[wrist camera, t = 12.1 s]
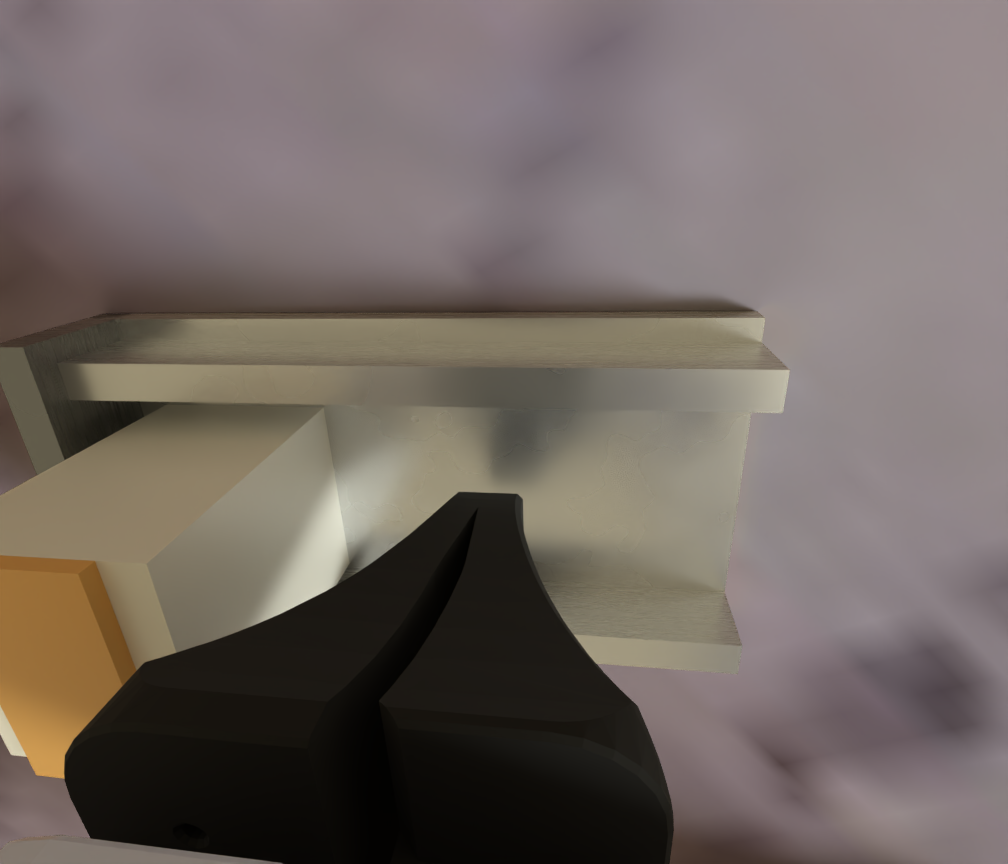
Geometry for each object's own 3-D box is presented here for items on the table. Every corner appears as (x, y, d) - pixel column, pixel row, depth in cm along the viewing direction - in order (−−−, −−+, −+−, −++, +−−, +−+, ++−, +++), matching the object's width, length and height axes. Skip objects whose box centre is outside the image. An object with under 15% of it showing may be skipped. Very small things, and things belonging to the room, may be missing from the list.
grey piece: (757, 311, 12) (807, 351, 9) (713, 617, 15) (741, 713, 12) (102, 313, 14) (-14, 347, 11) (186, 583, 17) (110, 660, 14)
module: (323, 407, 14) (130, 577, 8) (349, 563, 15) (207, 794, 10) (166, 404, 14) (-122, 561, 8) (208, 555, 16) (-4, 770, 10)
